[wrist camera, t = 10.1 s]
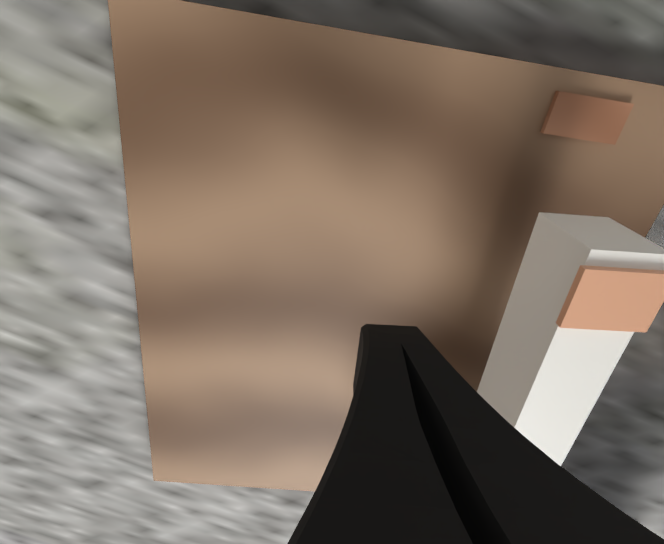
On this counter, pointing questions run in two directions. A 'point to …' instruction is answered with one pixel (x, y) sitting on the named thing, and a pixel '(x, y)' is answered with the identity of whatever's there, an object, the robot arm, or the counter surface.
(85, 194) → the counter surface
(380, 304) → the board
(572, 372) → the white long piece
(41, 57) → the counter surface
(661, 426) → the counter surface
